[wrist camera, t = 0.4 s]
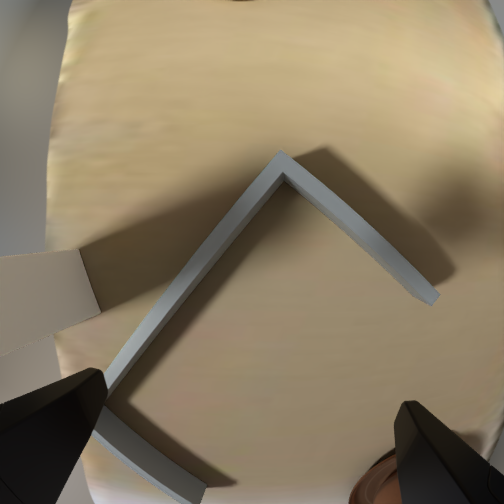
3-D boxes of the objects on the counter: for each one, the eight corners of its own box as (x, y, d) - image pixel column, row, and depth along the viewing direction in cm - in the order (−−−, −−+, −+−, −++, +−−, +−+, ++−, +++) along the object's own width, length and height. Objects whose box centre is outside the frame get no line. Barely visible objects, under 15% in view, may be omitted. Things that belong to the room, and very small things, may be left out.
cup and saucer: (474, 452, 22) (497, 484, 16) (399, 520, 23) (409, 556, 17) (405, 419, 23) (428, 459, 16) (322, 498, 24) (324, 541, 18)
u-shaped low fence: (201, 488, 25) (192, 510, 22) (92, 402, 26) (73, 417, 22) (421, 286, 22) (440, 294, 18) (282, 161, 22) (280, 149, 19)
